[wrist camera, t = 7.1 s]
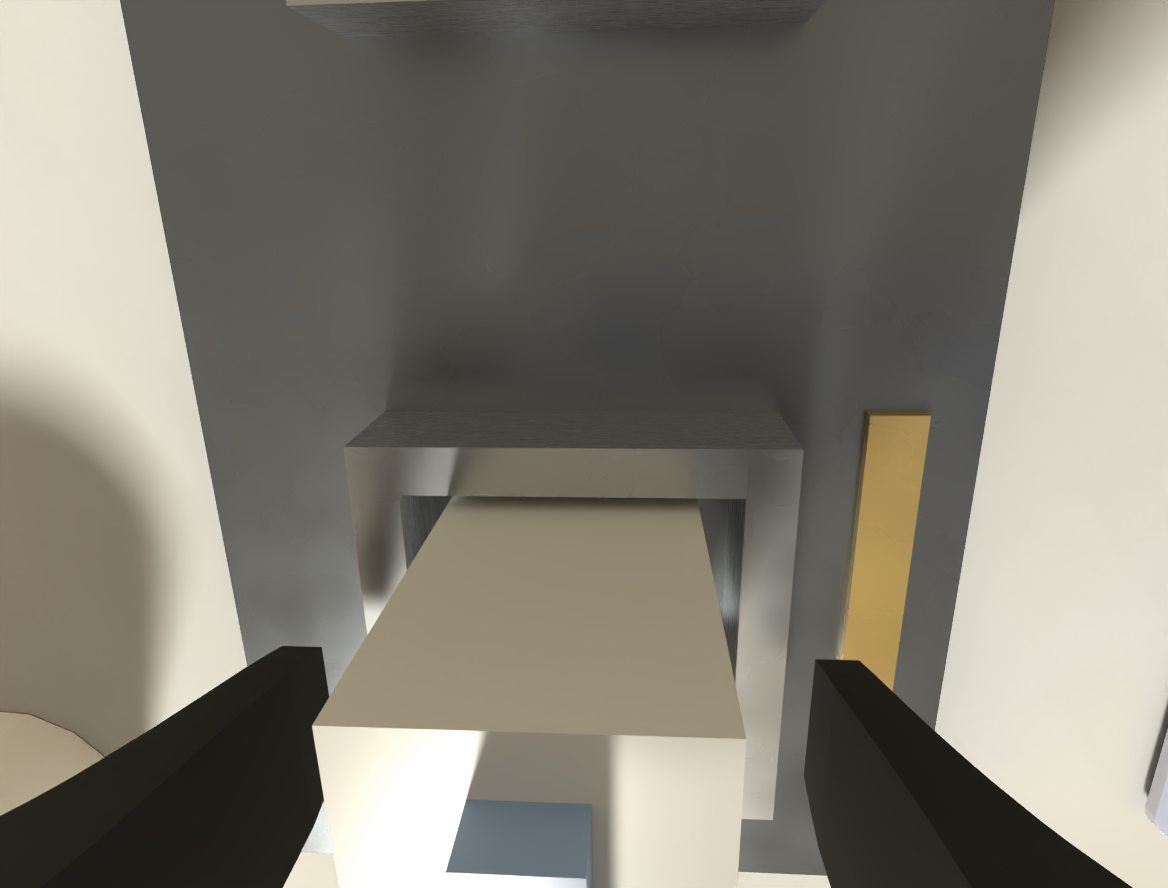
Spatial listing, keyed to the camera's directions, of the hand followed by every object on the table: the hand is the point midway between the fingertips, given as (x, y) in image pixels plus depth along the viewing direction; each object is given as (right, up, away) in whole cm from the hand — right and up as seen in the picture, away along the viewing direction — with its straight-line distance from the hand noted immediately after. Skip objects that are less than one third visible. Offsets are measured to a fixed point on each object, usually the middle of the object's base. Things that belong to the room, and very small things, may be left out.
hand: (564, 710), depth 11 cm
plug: (0, +2, +3) cm, 4 cm away
